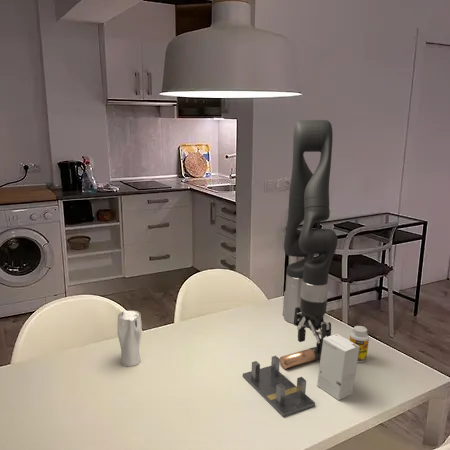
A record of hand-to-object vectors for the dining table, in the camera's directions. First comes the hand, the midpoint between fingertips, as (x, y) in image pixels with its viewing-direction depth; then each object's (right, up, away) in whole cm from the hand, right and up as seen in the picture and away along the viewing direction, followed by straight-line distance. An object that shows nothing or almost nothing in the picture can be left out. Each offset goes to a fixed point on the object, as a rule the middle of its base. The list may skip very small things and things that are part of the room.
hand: (310, 347), depth 138 cm
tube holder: (-11, -9, -12) cm, 18 cm away
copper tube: (0, -5, +2) cm, 5 cm away
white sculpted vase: (-54, -5, +1) cm, 54 cm away
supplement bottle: (+16, -5, +6) cm, 17 cm away
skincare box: (+5, -9, -11) cm, 15 cm away
